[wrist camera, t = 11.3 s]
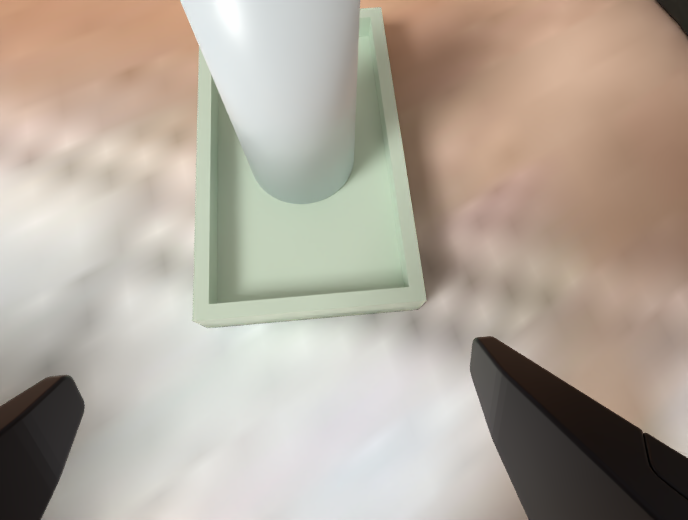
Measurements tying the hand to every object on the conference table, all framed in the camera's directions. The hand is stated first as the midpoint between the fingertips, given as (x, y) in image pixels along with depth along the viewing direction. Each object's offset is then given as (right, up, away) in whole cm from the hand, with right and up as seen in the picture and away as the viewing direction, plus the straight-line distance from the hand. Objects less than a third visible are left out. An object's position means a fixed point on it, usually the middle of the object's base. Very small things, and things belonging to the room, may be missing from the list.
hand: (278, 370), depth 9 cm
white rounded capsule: (-1, +9, +16) cm, 18 cm away
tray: (-1, +9, +17) cm, 19 cm away
